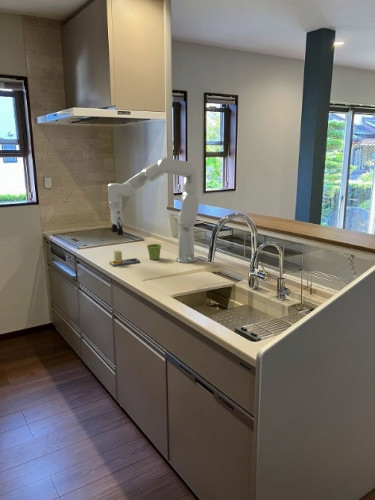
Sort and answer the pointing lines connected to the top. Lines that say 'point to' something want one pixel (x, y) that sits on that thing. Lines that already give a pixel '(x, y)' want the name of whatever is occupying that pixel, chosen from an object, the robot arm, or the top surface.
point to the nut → (117, 256)
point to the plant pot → (154, 251)
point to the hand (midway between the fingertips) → (117, 233)
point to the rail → (125, 262)
